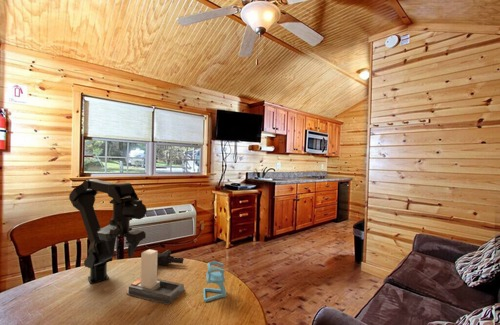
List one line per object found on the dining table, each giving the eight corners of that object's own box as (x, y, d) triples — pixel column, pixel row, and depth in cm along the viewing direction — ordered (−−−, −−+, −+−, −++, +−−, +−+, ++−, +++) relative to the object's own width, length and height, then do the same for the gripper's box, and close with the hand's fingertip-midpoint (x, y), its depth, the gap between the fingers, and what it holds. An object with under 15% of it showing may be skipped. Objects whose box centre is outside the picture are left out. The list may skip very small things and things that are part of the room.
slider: (137, 290, 89) (137, 253, 89) (147, 283, 94) (148, 248, 94) (150, 293, 87) (151, 255, 87) (160, 286, 93) (160, 250, 92)
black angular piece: (191, 248, 123) (163, 246, 124) (175, 260, 103) (142, 258, 105) (191, 259, 122) (163, 257, 124) (174, 273, 103) (141, 270, 105)
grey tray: (126, 294, 88) (126, 286, 88) (146, 281, 97) (146, 274, 97) (168, 304, 82) (168, 296, 82) (184, 290, 92) (185, 282, 92)
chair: (227, 300, 86) (228, 267, 86) (203, 302, 85) (205, 268, 84) (224, 288, 94) (225, 258, 94) (203, 290, 92) (204, 259, 92)
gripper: (83, 218, 88) (82, 260, 88) (123, 223, 82) (123, 268, 82) (109, 211, 98) (108, 249, 99) (147, 216, 93) (146, 256, 93)
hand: (120, 255), depth 93 cm, fingers open, 9 cm apart
